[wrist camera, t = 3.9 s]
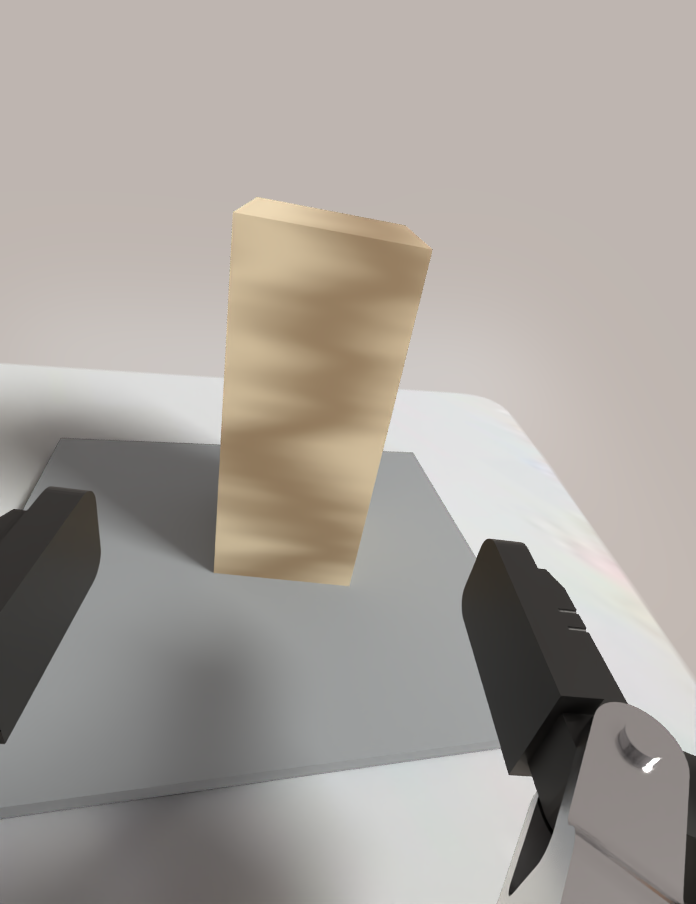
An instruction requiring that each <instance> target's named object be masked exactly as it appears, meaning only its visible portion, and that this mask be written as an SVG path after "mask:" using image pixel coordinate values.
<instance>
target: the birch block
mask: <svg viewBox="0 0 696 904" xmlns="http://www.w3.org/2000/svg"><path fill="white" fill-rule="evenodd" d="M232 223H233V224H232V242H231V259H230V260H231V261H230V279H229V298H228V316H227V335H226V353H225V371H224V390H223V409H222V427H221V446H220V465H219V483H218V502H217V521H216V539H215V558H214V573H219V574H229V575H239V576H250V577H260V578H270V579H280V580H291V581H301V582H311V583H321V584H332V585H342V586H349V585H350V581H351V577H352V573H353V569H354V565H355V561H356V557H357V553H358V549H359V545H360V541H361V537H362V533H363V529H364V525H365V521H366V517H367V513H368V509H369V505H370V501H371V496H372V492H373V488H374V484H375V480H376V476H377V472H378V468H379V464H380V460H381V456H382V452H383V448H384V444H385V440H386V436H387V432H388V428H389V424H390V420H391V416H392V412H393V407H394V403H395V399H396V395H397V391H398V387H399V383H400V379H401V375H402V371H403V367H404V363H405V359H406V355H407V351H408V347H409V343H410V339H411V335H412V330H413V327H414V322H415V318H416V314H417V310H418V306H419V302H420V298H421V294H422V290H423V286H424V282H425V277H426V274H427V270H428V265H429V262H430V257H431V254H432V249H431V248H430V247H429V246H428V245H427V244H426V243H425V242H423V241H422V240H421V239H420V238H419V237H418V236H417V235H415V234H414V233H413V232H412V231H411V230H410V229H409V228H407V227H406V226H405V225H400V224H395V223H390V222H384V221H379V220H374V219H369V218H364V217H359V216H353V215H348V214H343V213H338V212H332V211H327V210H322V209H317V208H312V207H306V206H301V205H296V204H291V203H286V202H281V201H275V200H270V199H264V198H260V197H256V198H255V199H253V200H252V201H250V202H249V203H247V204H245V205H244V206H242V207H240V208H239V209H237V210H236V211H234V212H233V222H232Z"/></svg>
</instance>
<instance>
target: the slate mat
mask: <svg viewBox="0 0 696 904" xmlns="http://www.w3.org/2000/svg"><path fill="white" fill-rule="evenodd" d="M220 446H221V445H217V444H193V443H168V442H144V441H120V440H95V439H71V438H61V439H60V441H59V443H58V444H57V446H56V448H55V450H54V452H53V454H52V456H51V458H50V460H49V461H48V463H47V465H46V467H45V469H44V471H43V473H42V475H41V477H40V479H39V480H38V482H37V484H36V486H35V488H34V490H33V492H32V494H31V496H30V498H29V499H28V501H27V503H26V505H25V507H24V509H23V510H28V509H29V507H30V506H31V505H32V504H33V503H34V501H35V500H36V499H37V498H38V497H39V495H40V494H41V493H42V492H43V491H44V490H45V489H46V488H47V487H50V486H54V487H63V488H71V489H80V490H88V491H92V492H93V493H94V495H95V497H96V505H97V515H98V525H99V535H100V545H101V558H100V564H99V569H98V572H97V575H96V578H95V580H94V582H93V584H92V586H91V588H90V589H89V591H88V593H87V595H86V597H85V599H84V600H83V602H82V604H81V606H80V608H79V610H78V611H77V613H76V615H75V617H74V619H73V621H72V622H71V624H70V626H69V628H68V630H67V632H66V633H65V635H64V637H63V639H62V641H61V643H60V644H59V646H58V648H57V650H56V652H55V654H54V655H53V657H52V659H51V661H50V663H49V665H48V666H47V668H46V670H45V672H44V674H43V676H42V677H41V679H40V681H39V683H38V685H37V687H36V688H35V690H34V692H33V694H32V696H31V698H30V700H29V701H28V703H27V705H26V707H25V709H24V711H23V712H22V714H21V716H20V718H19V720H18V722H17V723H16V725H15V727H14V729H13V731H12V733H11V734H10V736H9V738H8V740H7V742H6V744H0V819H3V818H10V817H17V816H25V815H32V814H39V813H46V812H53V811H60V810H67V809H74V808H81V807H88V806H96V805H103V804H110V803H117V802H124V801H131V800H138V799H145V798H152V797H159V796H166V795H174V794H181V793H188V792H195V791H202V790H209V789H216V788H223V787H230V786H237V785H244V784H252V783H259V782H266V781H273V780H280V779H287V778H294V777H301V776H308V775H315V774H323V773H330V772H337V771H344V770H351V769H358V768H365V767H372V766H379V765H386V764H393V763H401V762H408V761H415V760H422V759H429V758H436V757H443V756H450V755H457V754H464V753H472V752H479V751H486V750H493V749H500V748H501V746H500V743H499V740H498V736H497V733H496V729H495V726H494V723H493V719H492V716H491V712H490V709H489V706H488V702H487V699H486V695H485V692H484V688H483V685H482V682H481V678H480V675H479V671H478V668H477V665H476V661H475V658H474V654H473V651H472V647H471V644H470V641H469V637H468V634H467V630H466V627H465V624H464V620H463V616H462V595H463V590H464V587H465V585H466V582H467V580H468V578H469V575H470V573H471V570H472V568H473V565H474V563H475V561H476V557H475V555H474V553H473V552H472V550H471V548H470V547H469V545H468V543H467V542H466V540H465V538H464V537H463V535H462V533H461V532H460V530H459V529H458V527H457V525H456V524H455V522H454V520H453V519H452V517H451V515H450V514H449V512H448V510H447V509H446V507H445V505H444V504H443V502H442V500H441V499H440V497H439V495H438V494H437V492H436V490H435V489H434V487H433V485H432V484H431V482H430V480H429V479H428V477H427V475H426V474H425V472H424V470H423V469H422V467H421V465H420V464H419V462H418V460H417V459H416V457H415V455H414V454H413V453H412V452H388V451H383V452H382V456H381V460H380V464H379V468H378V472H377V476H376V480H375V484H374V488H373V492H372V496H371V501H370V505H369V509H368V513H367V517H366V521H365V525H364V529H363V533H362V537H361V541H360V545H359V549H358V553H357V557H356V561H355V565H354V569H353V573H352V577H351V581H350V585H349V586H342V585H332V584H321V583H311V582H301V581H291V580H280V579H270V578H260V577H250V576H239V575H229V574H219V573H214V558H215V539H216V521H217V502H218V483H219V465H220Z"/></svg>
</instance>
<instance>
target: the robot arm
mask: <svg viewBox="0 0 696 904" xmlns="http://www.w3.org/2000/svg"><path fill="white" fill-rule="evenodd" d="M100 558H101V545H100V535H99V525H98V515H97V505H96V497H95V495H94V493H93V492H92V491H88V490H80V489H71V488H63V487H54V486H50V487H47V488H46V489H45V490H44V491H43V492H42V493H41V494H40V495H39V497H38V498H37V499H36V500H35V501H34V503H33V504H32V505H31V506H30V507H29V509H28V510H18V509H13V510H11V511H10V512H8V513H6V514H5V515H3V516H1V517H0V744H6V742H7V740H8V738H9V736H10V734H11V733H12V731H13V729H14V727H15V725H16V723H17V722H18V720H19V718H20V716H21V714H22V712H23V711H24V709H25V707H26V705H27V703H28V701H29V700H30V698H31V696H32V694H33V692H34V690H35V688H36V687H37V685H38V683H39V681H40V679H41V677H42V676H43V674H44V672H45V670H46V668H47V666H48V665H49V663H50V661H51V659H52V657H53V655H54V654H55V652H56V650H57V648H58V646H59V644H60V643H61V641H62V639H63V637H64V635H65V633H66V632H67V630H68V628H69V626H70V624H71V622H72V621H73V619H74V617H75V615H76V613H77V611H78V610H79V608H80V606H81V604H82V602H83V600H84V599H85V597H86V595H87V593H88V591H89V589H90V588H91V586H92V584H93V582H94V580H95V578H96V575H97V572H98V569H99V564H100ZM462 616H463V620H464V624H465V627H466V630H467V634H468V637H469V641H470V644H471V647H472V651H473V654H474V658H475V661H476V665H477V668H478V671H479V675H480V678H481V682H482V685H483V688H484V692H485V695H486V699H487V702H488V706H489V709H490V712H491V716H492V719H493V723H494V726H495V729H496V733H497V736H498V740H499V743H500V746H501V750H502V753H503V757H504V760H505V764H506V767H507V770H508V774H509V775H517V776H532V777H533V780H534V784H535V787H536V790H537V792H536V793H535V795H534V796H533V798H532V800H531V803H530V806H529V809H528V812H527V815H526V818H525V821H524V824H523V827H522V830H521V833H520V836H519V839H518V842H517V845H516V848H515V851H514V854H513V857H512V860H511V863H510V866H509V869H508V872H507V875H506V878H505V881H504V884H503V887H502V890H501V893H500V896H499V899H498V901H497V904H696V756H694V755H691V754H689V753H686V752H684V751H682V749H681V747H680V745H679V744H678V743H677V741H676V740H675V738H674V737H673V736H672V735H671V734H670V732H669V731H668V730H667V729H666V728H665V727H664V726H663V725H662V724H661V723H659V722H658V721H657V720H656V719H654V718H653V717H652V716H650V715H649V714H647V713H646V712H644V711H642V710H640V709H639V708H637V707H634V706H632V705H629V704H628V703H627V702H626V700H625V698H624V696H623V694H622V693H621V691H620V689H619V687H618V685H617V683H616V682H615V680H614V678H613V676H612V674H611V672H610V671H609V669H608V667H607V665H606V663H605V661H604V660H603V658H602V656H601V654H600V652H599V650H598V649H597V647H596V645H595V643H594V641H593V639H592V638H591V636H590V634H589V633H588V632H586V627H585V625H584V623H583V621H582V619H581V618H580V616H579V614H576V608H575V607H574V605H573V603H572V601H571V599H570V597H569V596H568V594H567V592H566V590H565V588H564V587H563V586H562V585H561V584H560V583H559V582H558V581H557V580H556V579H555V578H554V577H553V576H552V575H551V574H550V573H549V572H548V571H547V570H546V569H538V568H537V566H536V564H535V562H534V560H533V558H532V556H531V554H530V552H529V550H528V548H527V546H526V545H525V544H524V543H521V542H513V541H505V540H496V539H487V540H485V541H484V543H483V544H482V546H481V549H480V551H479V553H478V556H477V558H476V561H475V563H474V565H473V568H472V570H471V573H470V575H469V578H468V580H467V582H466V585H465V587H464V590H463V595H462Z"/></svg>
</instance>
